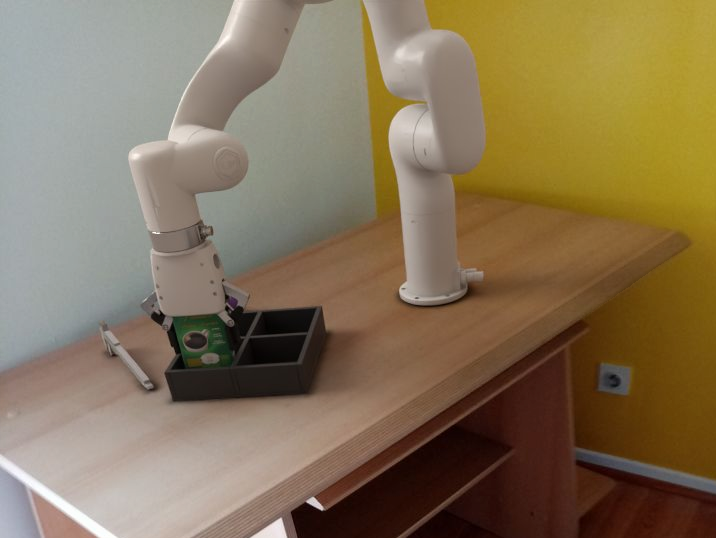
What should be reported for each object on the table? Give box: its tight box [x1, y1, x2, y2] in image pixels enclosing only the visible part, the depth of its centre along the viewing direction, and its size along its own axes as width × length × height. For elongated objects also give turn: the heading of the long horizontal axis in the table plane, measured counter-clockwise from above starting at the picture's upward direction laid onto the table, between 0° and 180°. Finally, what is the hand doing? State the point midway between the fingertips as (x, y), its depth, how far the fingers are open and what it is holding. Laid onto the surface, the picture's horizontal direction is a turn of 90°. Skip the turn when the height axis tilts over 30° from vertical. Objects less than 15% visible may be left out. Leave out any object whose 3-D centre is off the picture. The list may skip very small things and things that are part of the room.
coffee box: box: [172, 314, 235, 369], centre depth 118 cm, size 8×3×13 cm, turn 92°
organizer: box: [163, 305, 327, 402], centre depth 124 cm, size 21×21×5 cm
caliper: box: [98, 320, 154, 391], centre depth 127 cm, size 20×1×6 cm, turn 35°
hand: (207, 348), depth 119 cm, fingers closed on coffee box, 8 cm apart
